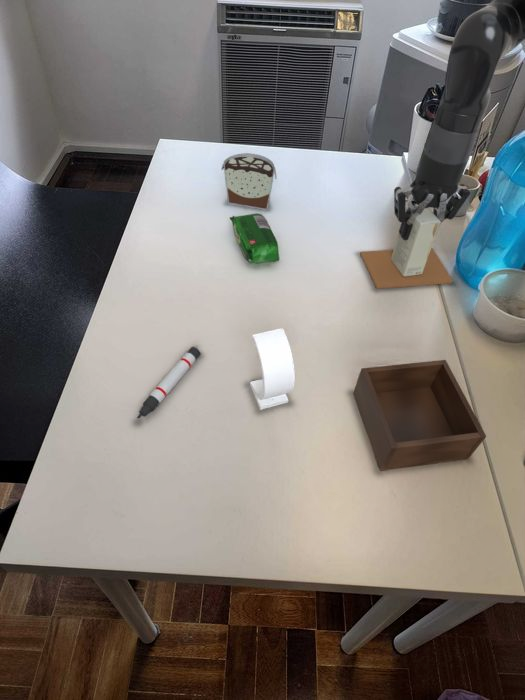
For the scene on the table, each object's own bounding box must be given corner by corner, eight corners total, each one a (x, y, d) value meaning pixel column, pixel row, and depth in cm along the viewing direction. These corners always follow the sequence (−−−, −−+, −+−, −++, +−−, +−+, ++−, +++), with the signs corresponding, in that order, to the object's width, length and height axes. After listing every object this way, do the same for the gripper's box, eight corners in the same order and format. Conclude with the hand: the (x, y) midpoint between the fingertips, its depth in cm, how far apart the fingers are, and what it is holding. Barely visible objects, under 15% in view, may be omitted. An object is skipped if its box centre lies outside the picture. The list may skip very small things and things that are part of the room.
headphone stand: (276, 378, 77) (282, 327, 68) (290, 407, 73) (298, 359, 64) (250, 384, 76) (252, 334, 66) (262, 415, 72) (266, 366, 63)
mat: (430, 249, 101) (431, 247, 101) (451, 283, 94) (452, 281, 94) (359, 254, 99) (360, 251, 99) (376, 289, 92) (376, 286, 92)
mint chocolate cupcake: (279, 197, 112) (282, 156, 104) (273, 211, 108) (276, 170, 100) (229, 188, 113) (228, 148, 106) (222, 202, 109) (221, 161, 102)
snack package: (259, 223, 105) (260, 203, 101) (281, 267, 95) (283, 246, 91) (228, 228, 103) (228, 207, 99) (248, 273, 93) (248, 252, 89)
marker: (191, 352, 79) (190, 345, 78) (200, 357, 79) (200, 349, 77) (133, 419, 70) (131, 412, 69) (144, 425, 70) (142, 418, 68)
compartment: (431, 384, 77) (445, 359, 72) (468, 459, 69) (486, 436, 64) (352, 393, 75) (361, 368, 70) (379, 471, 67) (391, 448, 62)
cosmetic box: (422, 275, 95) (443, 223, 85) (402, 277, 94) (421, 225, 85) (408, 255, 99) (426, 203, 89) (389, 257, 98) (405, 205, 89)
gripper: (414, 164, 74) (387, 251, 87) (497, 160, 76) (458, 246, 89) (398, 141, 79) (374, 227, 92) (476, 139, 81) (442, 223, 94)
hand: (416, 236), depth 91 cm, fingers closed on cosmetic box, 4 cm apart
